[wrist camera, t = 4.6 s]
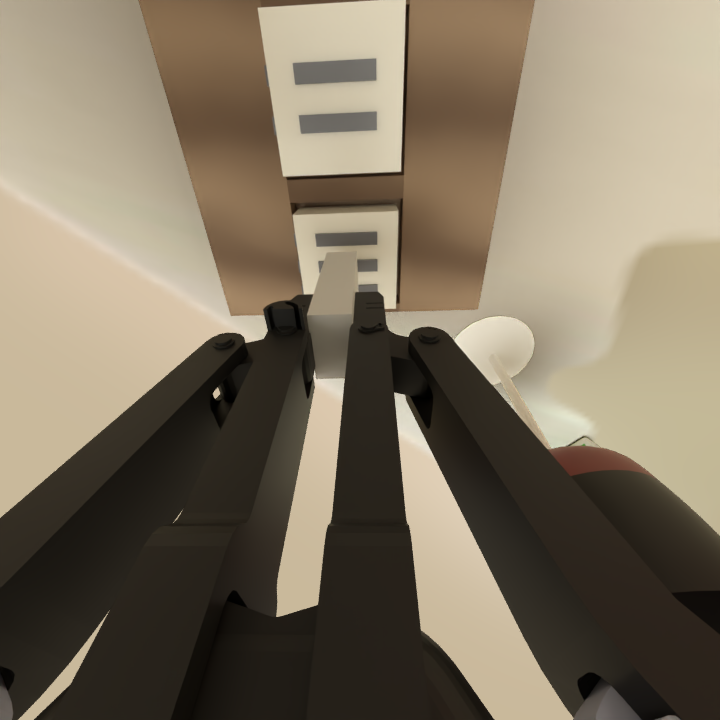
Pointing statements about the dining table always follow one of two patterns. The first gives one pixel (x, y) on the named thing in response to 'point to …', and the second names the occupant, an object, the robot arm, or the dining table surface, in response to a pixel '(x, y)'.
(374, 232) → the tile three
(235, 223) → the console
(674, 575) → the wineglass
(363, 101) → the tile two
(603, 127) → the dining table surface
